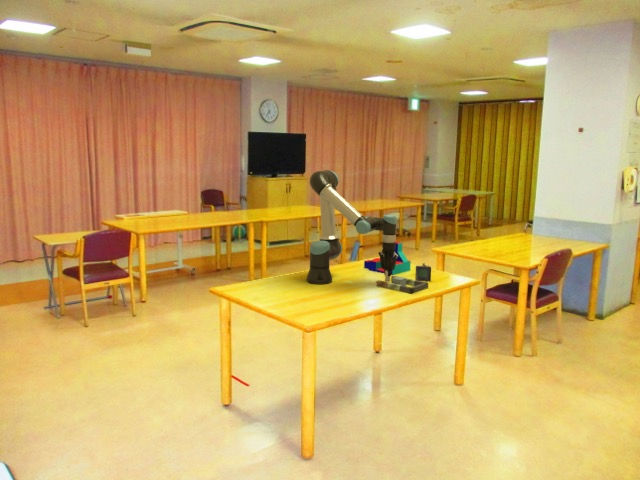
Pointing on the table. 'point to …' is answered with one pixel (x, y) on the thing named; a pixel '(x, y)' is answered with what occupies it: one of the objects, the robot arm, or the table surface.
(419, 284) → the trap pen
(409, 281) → the channel rails
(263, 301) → the table surface
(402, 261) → the building blocks toy
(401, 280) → the block
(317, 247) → the robot arm
